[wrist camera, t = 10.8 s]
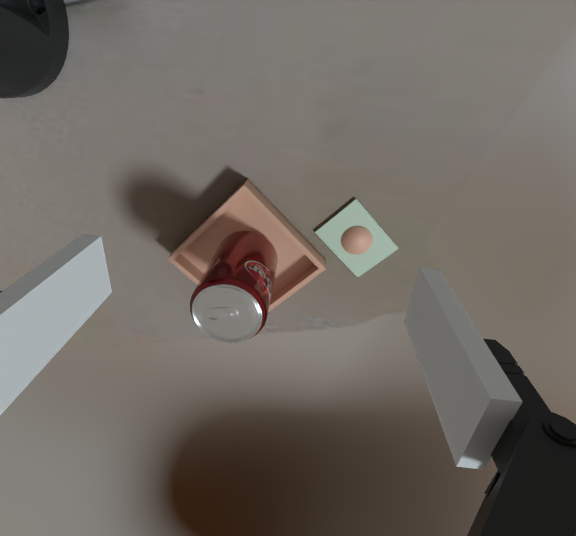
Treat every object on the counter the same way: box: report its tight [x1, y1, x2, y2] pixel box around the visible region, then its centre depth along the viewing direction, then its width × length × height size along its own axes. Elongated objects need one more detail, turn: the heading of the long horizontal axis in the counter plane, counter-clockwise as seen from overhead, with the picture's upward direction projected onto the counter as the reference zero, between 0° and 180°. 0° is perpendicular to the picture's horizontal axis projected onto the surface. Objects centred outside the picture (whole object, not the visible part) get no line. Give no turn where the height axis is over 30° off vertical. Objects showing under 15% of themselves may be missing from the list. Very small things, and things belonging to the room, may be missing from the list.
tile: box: [315, 199, 399, 277], centre depth 42 cm, size 8×6×1 cm
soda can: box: [190, 231, 278, 343], centre depth 38 cm, size 7×7×12 cm
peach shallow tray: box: [167, 179, 326, 312], centre depth 43 cm, size 13×13×2 cm
